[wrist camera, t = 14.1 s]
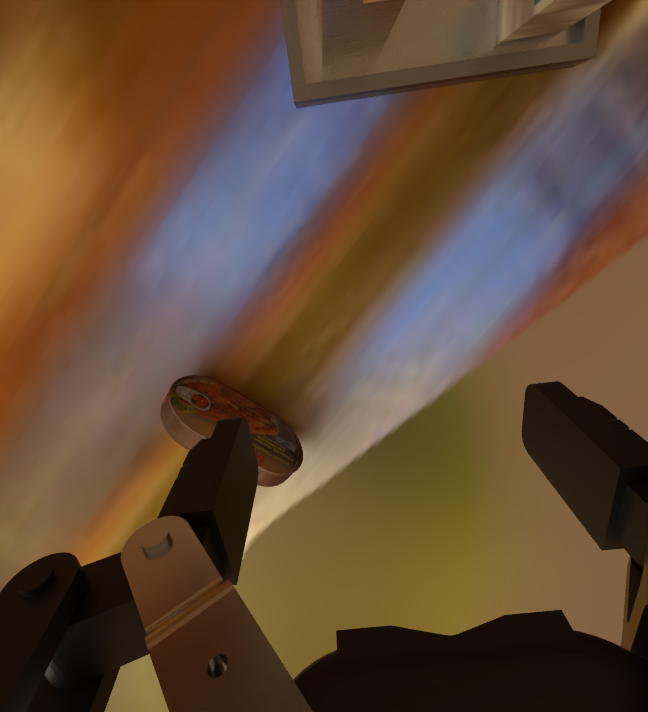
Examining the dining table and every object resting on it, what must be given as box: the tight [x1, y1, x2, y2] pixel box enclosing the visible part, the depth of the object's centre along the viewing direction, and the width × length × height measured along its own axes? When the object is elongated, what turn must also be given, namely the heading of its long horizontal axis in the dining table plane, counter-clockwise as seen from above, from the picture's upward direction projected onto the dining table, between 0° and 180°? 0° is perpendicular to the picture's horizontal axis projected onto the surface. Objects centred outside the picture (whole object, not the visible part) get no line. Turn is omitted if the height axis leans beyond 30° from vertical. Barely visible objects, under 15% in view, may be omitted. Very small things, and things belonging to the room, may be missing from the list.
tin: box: [161, 375, 303, 487], centre depth 40 cm, size 15×3×8 cm, turn 54°
